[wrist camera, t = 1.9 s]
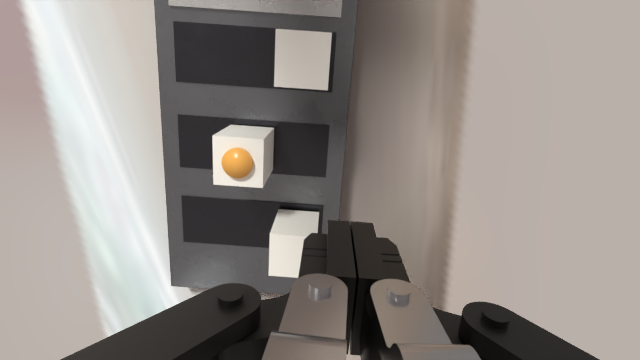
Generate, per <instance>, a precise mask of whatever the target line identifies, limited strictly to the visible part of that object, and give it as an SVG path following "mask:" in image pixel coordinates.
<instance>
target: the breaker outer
mask: <svg viewBox="0 0 640 360" xmlns="http://www.w3.org/2000/svg"><path fill="white" fill-rule="evenodd" d="M318 221H319V212H311V211H297V210H283V209H278V212H277V215H276V218H275V220H274V223H273V226H272V229H271V232H270V240H269V274H268V276H279V277H293V278H298V276H299V269H300V263H301V256H302V250H303V243H304V239H305V238H306V237H307V236H308V235H310V234H311V233H318Z"/></svg>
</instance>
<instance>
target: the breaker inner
mask: <svg viewBox="0 0 640 360" xmlns="http://www.w3.org/2000/svg"><path fill="white" fill-rule="evenodd" d="M331 39H332V33H330V32H316V31H302V30H287V29H276V34H275V68H274V87H286V88H300V89H314V90H328V81H329V67H330V53H331Z"/></svg>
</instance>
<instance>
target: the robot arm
mask: <svg viewBox="0 0 640 360" xmlns="http://www.w3.org/2000/svg"><path fill="white" fill-rule="evenodd" d="M349 341H350V355H361V360H599V359H597V358H595V357H594V356H592V355H590V354H588V353H586V352H584V351H583V350H581V349H579V348H577V347H575V346H574V345H572V344H570V343H568V342H566V341H564V340H563V339H561V338H559V337H557V336H555V335H554V334H552V333H550V332H548V331H546V330H544V329H543V328H541V327H539V326H537V325H535V324H534V323H532V322H530V321H528V320H526V319H525V318H522V317H521V316H519V315H517V314H515V313H514V312H512V311H510V310H508V309H506V308H504V307H502V306H499V305H496V304H492V303H487V302H473V303H469V304H467V305H466V306H465V307H464V308H463V311H462V316H459V315H455V314H452V313H448V312H445V311H442V310H438V309H436V308H433V307H432V306H431V304H430V302H429V301H428V299H427V297H426V295H425V294H424V292H423V291H422V290H421V289H420V288H418V287H417V286H415V285H413V284H411V283H410V281H409V278H408V275H407V273H406V270H405V267H404V265H403V263H402V259H401V257H400V254H399V251H398V249H397V246H396V245H395V244H394V243H392V242H391V241H390V240H389V239H388V238H376V234H375V230H374V227H373V223H365V222H350V223H349V221H336V220H328V223H327V234H320V233H311V234H310V235H308V236H307V237H306V238H305V239H304V243H303V250H302V256H301V263H300V269H299V276H298V279H297V280H296V281H295V282H294V283H293V285H292V288H291V292H289V293H288V294H286V295H283V296H281V297H277V298H272V299H265V300H261V296H260V294H259V292H258V291H257V290H256V289H255V288H253V287H251V286H249V285H246V284H241V283H227V284H222V285H218V286H215V287H213V288H211V289H209V290H207V291H204V292H202V293H200V294H198V295H196V296H194V297H192V298H190V299H188V300H185V301H183V302H181V303H179V304H177V305H175V306H173V307H171V308H169V309H166V310H164V311H162V312H160V313H158V314H156V315H154V316H152V317H150V318H148V319H145V320H143V321H141V322H139V323H137V324H135V325H133V326H131V327H129V328H126V329H124V330H122V331H120V332H118V333H116V334H114V335H112V336H110V337H107V338H105V339H103V340H101V341H99V342H97V343H95V344H93V345H91V346H88V347H86V348H85V349H82V350H80V351H78V352H76V353H74V354H72V355H69V356H67V357H65V358H63V359H61V360H346V354H348V349H349Z"/></svg>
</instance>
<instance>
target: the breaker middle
mask: <svg viewBox="0 0 640 360" xmlns="http://www.w3.org/2000/svg"><path fill="white" fill-rule="evenodd" d="M212 144H213V185H226V186H240V187H254V188H263V187H264V185H265V183H266V181H267V180H268V178H269V176H270V174H271V172H272V170H273V153H274V128H271V127H257V126H243V125H229V126H228V127H226V128H224V129H223V130H221V131H219V132H217V133H216V134H214V135H212Z"/></svg>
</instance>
